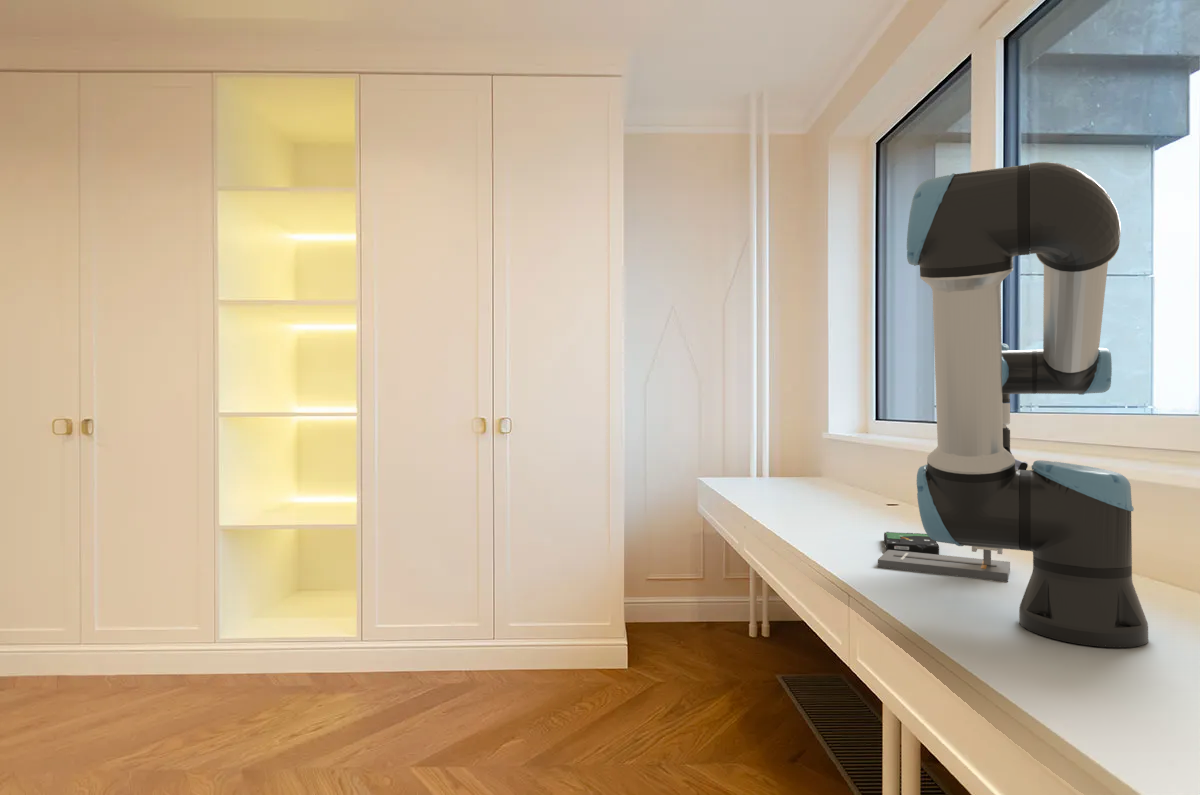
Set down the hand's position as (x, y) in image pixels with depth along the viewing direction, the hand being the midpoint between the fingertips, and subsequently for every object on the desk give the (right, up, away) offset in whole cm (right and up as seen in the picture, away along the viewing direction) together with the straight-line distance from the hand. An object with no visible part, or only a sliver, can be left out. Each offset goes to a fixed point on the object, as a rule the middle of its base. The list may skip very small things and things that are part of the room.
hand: (987, 551), depth 138 cm
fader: (0, -2, 0) cm, 2 cm away
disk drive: (-4, -5, +24) cm, 24 cm away
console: (-6, -4, +4) cm, 9 cm away
